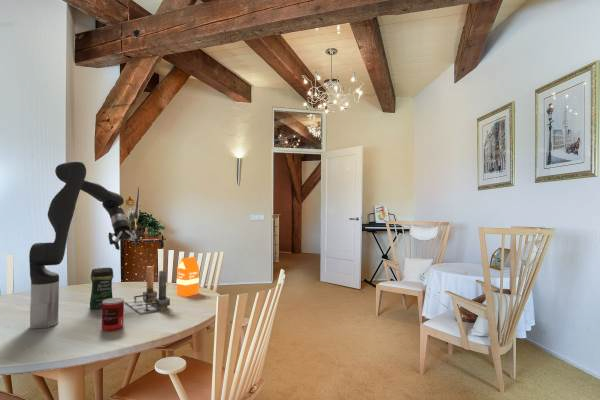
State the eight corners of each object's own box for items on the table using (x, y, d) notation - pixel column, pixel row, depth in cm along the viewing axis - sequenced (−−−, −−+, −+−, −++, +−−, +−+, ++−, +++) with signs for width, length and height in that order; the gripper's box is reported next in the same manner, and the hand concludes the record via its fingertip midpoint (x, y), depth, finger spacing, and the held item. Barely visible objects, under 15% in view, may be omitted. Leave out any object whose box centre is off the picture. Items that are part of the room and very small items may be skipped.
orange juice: (198, 293, 192) (199, 257, 192) (185, 296, 185) (186, 259, 185) (189, 291, 196) (190, 256, 197) (176, 294, 189) (176, 257, 189)
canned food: (118, 323, 142) (118, 296, 142) (127, 327, 137) (127, 300, 137) (98, 328, 136) (98, 300, 136) (106, 333, 131) (106, 304, 131)
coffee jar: (90, 310, 159) (91, 270, 160) (88, 306, 165) (89, 267, 166) (114, 307, 165) (115, 268, 166) (111, 303, 171) (112, 265, 172)
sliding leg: (156, 299, 175) (157, 266, 175) (135, 302, 168) (135, 268, 168) (153, 297, 179) (153, 265, 179) (132, 300, 172) (132, 267, 172)
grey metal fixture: (169, 308, 162) (170, 271, 163) (140, 314, 153) (141, 274, 154) (151, 298, 181) (151, 264, 181) (124, 302, 172) (124, 267, 172)
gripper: (105, 221, 175) (112, 245, 167) (135, 217, 184) (143, 240, 176) (104, 230, 179) (111, 254, 171) (134, 226, 188) (142, 249, 180)
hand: (128, 247), depth 173 cm, fingers open, 8 cm apart
